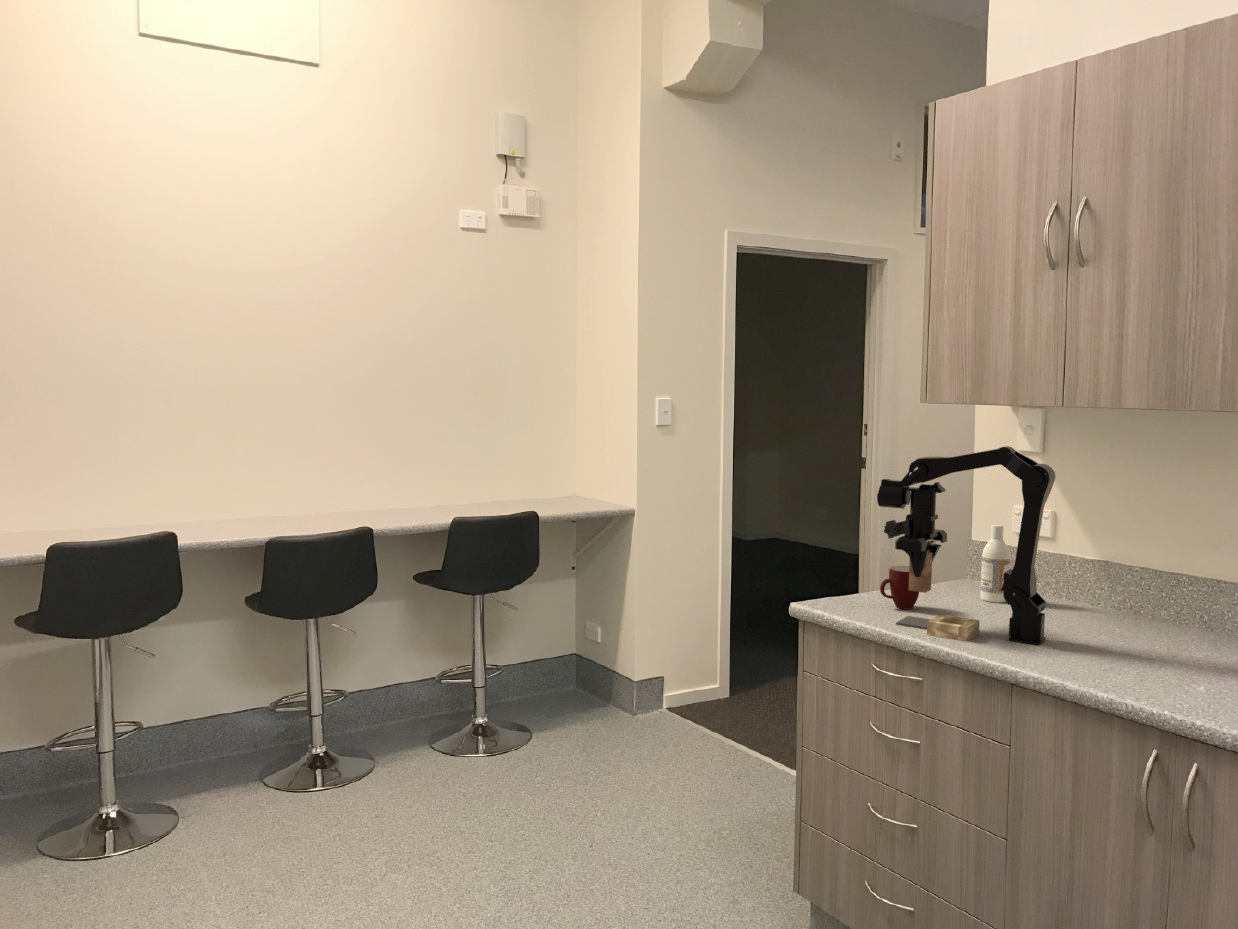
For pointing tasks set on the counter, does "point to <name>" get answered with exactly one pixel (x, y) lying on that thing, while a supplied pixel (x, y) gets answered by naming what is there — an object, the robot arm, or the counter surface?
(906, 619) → the mat
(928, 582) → the peg
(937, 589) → the counter surface
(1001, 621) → the counter surface
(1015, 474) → the robot arm
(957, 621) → the holder
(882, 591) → the mug
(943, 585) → the counter surface
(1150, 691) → the counter surface
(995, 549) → the bath foam
